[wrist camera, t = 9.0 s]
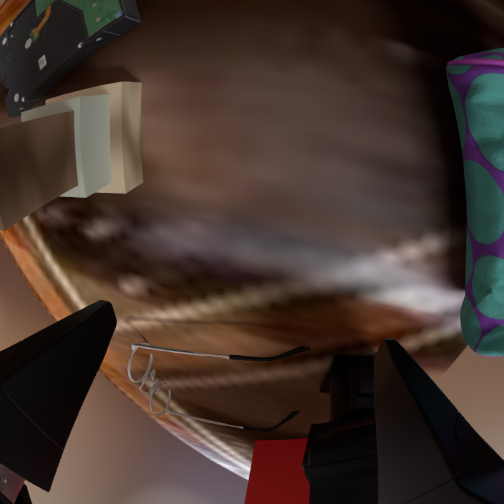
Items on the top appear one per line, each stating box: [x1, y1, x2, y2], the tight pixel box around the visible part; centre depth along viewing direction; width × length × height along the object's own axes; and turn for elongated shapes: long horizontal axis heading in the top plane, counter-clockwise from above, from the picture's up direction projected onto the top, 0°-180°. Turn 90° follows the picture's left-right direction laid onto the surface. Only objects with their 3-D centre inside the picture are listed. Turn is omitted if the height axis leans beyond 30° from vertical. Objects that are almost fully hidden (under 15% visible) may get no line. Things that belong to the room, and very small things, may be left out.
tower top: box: [21, 94, 113, 198], centre depth 14 cm, size 6×6×3 cm
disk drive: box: [0, 0, 141, 118], centre depth 12 cm, size 10×3×15 cm
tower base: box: [46, 82, 143, 194], centre depth 17 cm, size 8×8×3 cm
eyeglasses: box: [128, 342, 310, 431], centre depth 28 cm, size 16×19×5 cm
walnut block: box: [0, 111, 78, 231], centre depth 10 cm, size 4×4×6 cm
